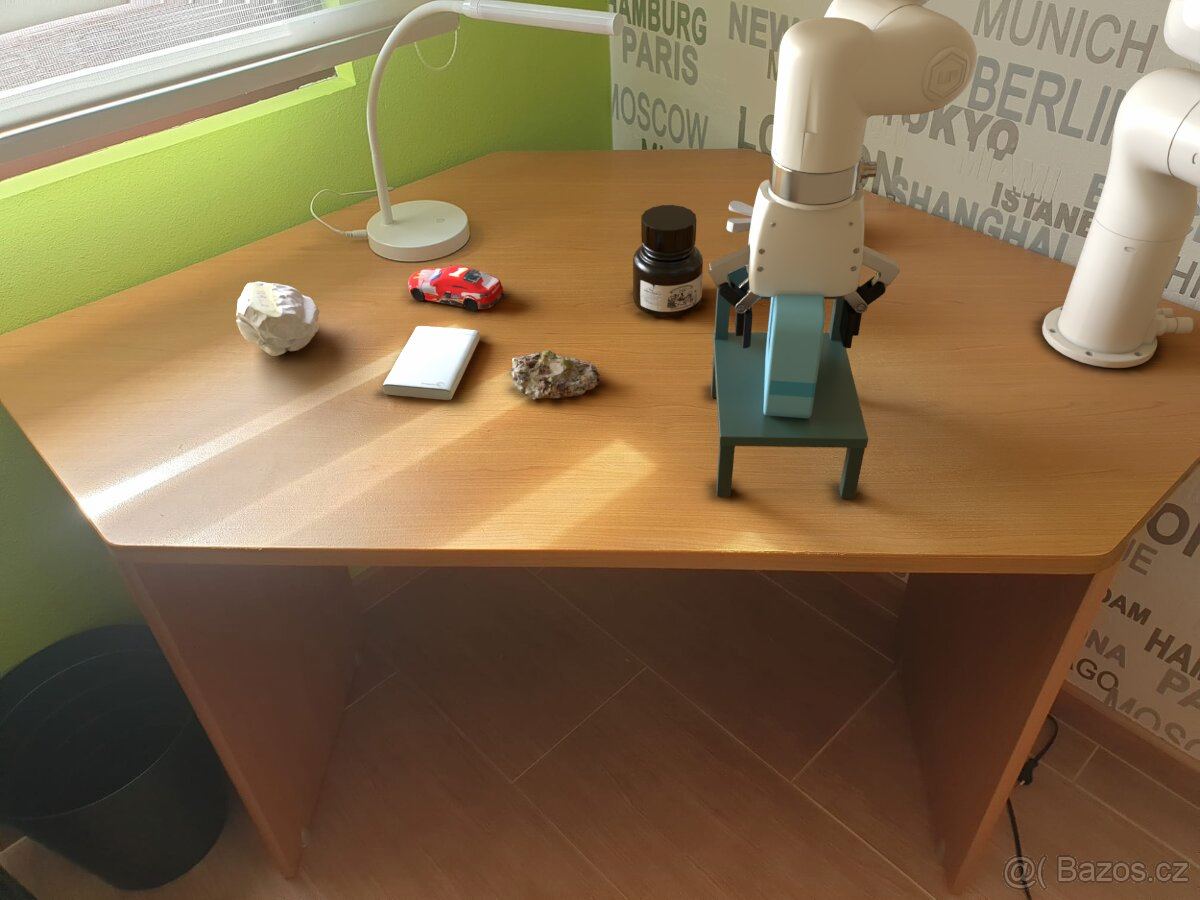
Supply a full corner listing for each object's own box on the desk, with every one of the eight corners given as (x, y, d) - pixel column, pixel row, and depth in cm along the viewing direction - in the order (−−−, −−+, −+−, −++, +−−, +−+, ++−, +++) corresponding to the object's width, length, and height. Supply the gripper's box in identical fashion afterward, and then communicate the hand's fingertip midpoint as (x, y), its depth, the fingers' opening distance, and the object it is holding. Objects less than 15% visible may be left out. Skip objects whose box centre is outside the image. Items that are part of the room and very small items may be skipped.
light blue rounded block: (810, 425, 92) (825, 320, 84) (762, 422, 93) (774, 317, 85) (808, 354, 101) (822, 253, 93) (765, 351, 102) (775, 251, 94)
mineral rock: (499, 385, 108) (515, 331, 112) (504, 408, 111) (519, 355, 116) (593, 396, 106) (605, 341, 111) (595, 419, 110) (606, 365, 114)
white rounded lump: (297, 309, 126) (230, 346, 121) (274, 253, 121) (203, 290, 116) (346, 338, 119) (278, 378, 114) (324, 280, 113) (251, 320, 109)
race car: (401, 299, 127) (396, 272, 125) (422, 279, 131) (417, 253, 128) (490, 316, 123) (486, 289, 121) (508, 295, 127) (505, 269, 124)
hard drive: (450, 389, 109) (479, 329, 118) (381, 383, 110) (415, 324, 119) (451, 401, 110) (480, 340, 119) (384, 395, 111) (417, 335, 120)
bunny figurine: (839, 231, 129) (729, 214, 130) (829, 264, 133) (723, 247, 134) (836, 199, 137) (732, 184, 137) (827, 231, 140) (726, 216, 141)
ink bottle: (642, 325, 121) (642, 240, 113) (621, 291, 127) (620, 207, 119) (714, 312, 122) (719, 227, 115) (690, 278, 129) (693, 196, 121)
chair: (832, 391, 109) (854, 257, 98) (856, 499, 96) (884, 359, 84) (710, 389, 110) (717, 257, 99) (715, 497, 96) (725, 357, 85)
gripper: (907, 155, 84) (878, 318, 96) (711, 158, 86) (705, 319, 97) (924, 194, 79) (891, 363, 90) (714, 196, 80) (707, 363, 91)
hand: (794, 340), depth 93 cm, fingers open, 9 cm apart
